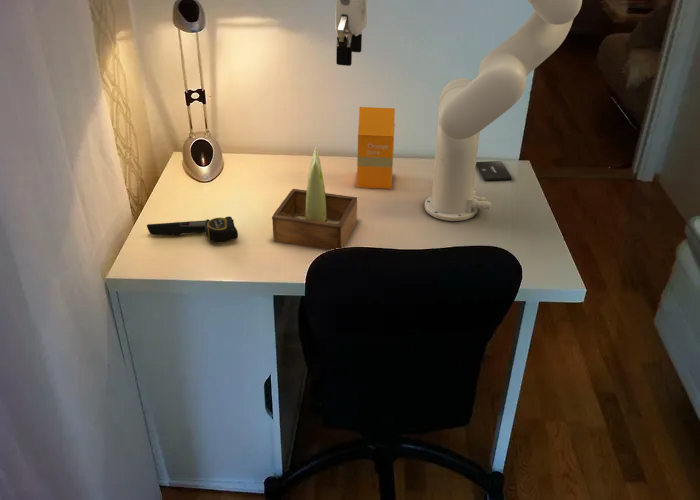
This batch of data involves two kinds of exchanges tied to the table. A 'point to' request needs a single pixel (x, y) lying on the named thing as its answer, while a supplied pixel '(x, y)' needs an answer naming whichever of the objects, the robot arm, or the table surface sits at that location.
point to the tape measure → (221, 230)
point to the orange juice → (375, 147)
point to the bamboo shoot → (315, 192)
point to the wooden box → (310, 230)
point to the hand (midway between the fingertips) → (349, 58)
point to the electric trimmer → (177, 228)
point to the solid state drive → (493, 170)
